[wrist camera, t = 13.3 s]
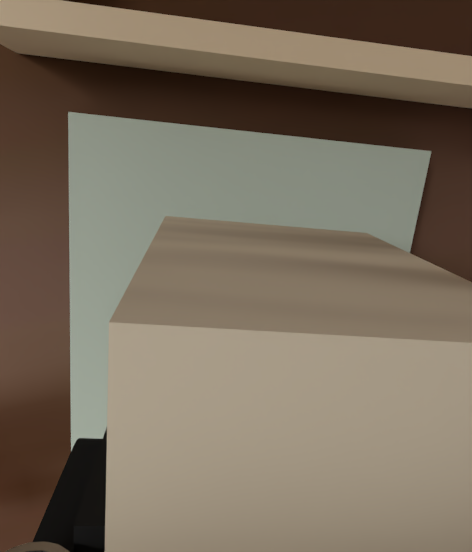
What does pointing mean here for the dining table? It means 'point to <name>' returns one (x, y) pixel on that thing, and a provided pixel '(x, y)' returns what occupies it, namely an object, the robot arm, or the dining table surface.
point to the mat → (205, 210)
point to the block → (288, 395)
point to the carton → (233, 51)
